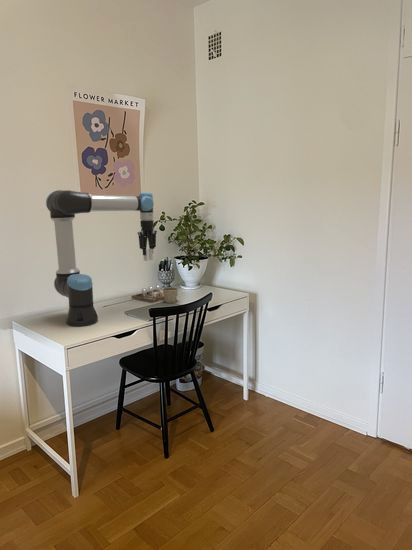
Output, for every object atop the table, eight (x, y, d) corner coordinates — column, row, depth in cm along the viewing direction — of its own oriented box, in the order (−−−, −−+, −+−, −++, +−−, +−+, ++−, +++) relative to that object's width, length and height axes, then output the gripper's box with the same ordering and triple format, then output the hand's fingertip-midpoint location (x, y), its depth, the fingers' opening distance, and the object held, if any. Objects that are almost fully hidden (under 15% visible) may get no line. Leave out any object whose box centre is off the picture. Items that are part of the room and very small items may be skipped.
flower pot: (159, 303, 246) (158, 288, 245) (172, 300, 253) (171, 286, 251) (168, 306, 239) (168, 291, 238) (181, 303, 246) (181, 288, 244)
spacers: (155, 301, 246) (154, 293, 245) (137, 297, 254) (137, 289, 253) (174, 295, 259) (174, 287, 258) (157, 292, 268) (157, 284, 267)
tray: (152, 304, 243) (151, 299, 242) (131, 300, 253) (131, 295, 252) (177, 297, 260) (177, 292, 259) (157, 293, 270) (157, 289, 269)
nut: (158, 297, 254) (158, 293, 254) (152, 297, 256) (152, 293, 255) (163, 295, 259) (162, 292, 258) (156, 295, 260) (156, 291, 260)
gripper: (141, 220, 234) (142, 262, 239) (161, 219, 247) (162, 259, 251) (131, 220, 239) (133, 261, 243) (152, 218, 251) (153, 257, 256)
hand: (148, 260), depth 247 cm, fingers open, 3 cm apart
